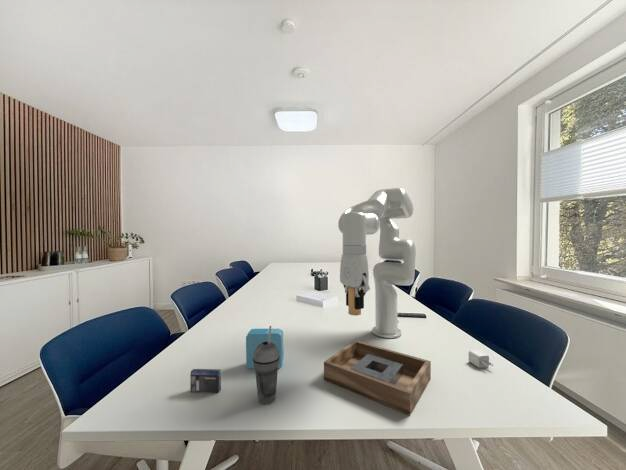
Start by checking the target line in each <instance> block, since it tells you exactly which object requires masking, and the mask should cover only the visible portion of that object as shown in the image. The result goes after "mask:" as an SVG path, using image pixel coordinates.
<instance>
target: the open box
mask: <svg viewBox="0 0 626 470" xmlns="http://www.w3.org/2000/svg"><path fill="white" fill-rule="evenodd" d="M367 354H371V355H374V356H377V357H380V358H384V359H387V360H390V361H394V362H397V363H400V364H403V375H402V377H401V378H400V379H399V380H398V382H397V383H396V384H395V385H393V384H390V383H387V382H385V381H382V380H379V379H376V378H373V377H371V376H368V375H365V374H362V373H360V372H357V371H354V370H351V369H350V368H352V367H353V366H354V365H355V364H356V363H358V362H359V361H360V360H361V359H362V358H363V357H365V356H366V355H367ZM374 371H375V370H374ZM431 371H432V364H431V361H430V360H428V359H424V358H421V357H416V356H415V355H409V354H405V353H402V352H398V351H395V350H391V349H388V348H385V347H380V346H378V345H374V344H370V343H367V342H363V341H359V340H356V339H355V340H353V341H352V342H350V343H349V344H348V345H346V346H345V347H343V348H342V349H340V350H338V351H337V352H336V353H335V354H333V355H332V356H330V357H329V358H327V359H326V360H325V361H323V380H324V381H326V382H329V383H331V384H334V385H335V386H338V387H339V388H343V389H345V390H347V391H350V392H352V393H355V394H357V395H360V396H362V397H363V398H366V399H369V400H372V401H375V402H376V403H379V404H382V405H383V406H387V407H389V408H391V409H393V410H396V411H398V412H401V413H403V414H406V415H407V414H409V415H408V416H411V415H412V413H413V411H414V410H415V408H416V406H417V404H418V402H419V401H420V399H421V397H422V395H423V393H424V392H425V390H426V388H427V386H428V385H429V383H430V381H431V378H432V377H431ZM377 372H378V371H377ZM380 373H381V372H380ZM410 414H411V415H410Z"/></svg>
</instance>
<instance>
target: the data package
mask: <svg viewBox="0 0 626 470" xmlns="http://www.w3.org/2000/svg"><path fill="white" fill-rule="evenodd" d="M268 336H269V328H252V329H250V330H249V331H248V333H247V334H246V336H245V354H246V355H245V361H246V362H245V364H246V367H247V368H248V369H249V370H255V367H254V361H253V356H254V351H255V349H256V348H257V346H258V345H259V344H261V343H262V342H266V341H268ZM270 342H272V343H274V344H275V345H276V346H277V348H278V351H279V355H280V358H279V364H278V370H279V369H280V368H282V366H283V362H284V357H285V355H284V349H285V348H284V331H283V329H281V328H271V335H270Z"/></svg>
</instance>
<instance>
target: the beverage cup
mask: <svg viewBox="0 0 626 470" xmlns="http://www.w3.org/2000/svg"><path fill="white" fill-rule="evenodd" d="M268 329H269V336H268V341H266V342H262V343H261V344H259V345H258V346H257V348H256V349H255V351H254V356H253V361H254V367H255V369H254V370H255V372H254V373H255V381H256V382H255V383H256V390H257V393H256V394H257V397H258V403H259V404H260V405H263V406H268V405H271V404H273V403H274V402H275V401H276V395H277V385H278V372H279V369H278V364H279V358H280V355H279V351H278V348H277V346H276V345H275V344H274V343H272V342H270V335H271V329H272V325H270V326H269V328H268Z"/></svg>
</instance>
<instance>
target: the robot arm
mask: <svg viewBox="0 0 626 470" xmlns="http://www.w3.org/2000/svg"><path fill="white" fill-rule="evenodd" d="M413 214H414V204H413V202H412V199H411V198H410V196H409V194H408V192H407V191H406V190H405V189H404V188H401V187H393V188H383V189H379V190H377V191H375V192H374V193H373V194H372V195H371V196H370V197H369V198H368V199H367V200H365V201H363V202H360V203H357V204H355V205H352V206H350V207H348V208H347V209H346V210H344V212H342V214H341V215H340V216H339V219H338V223H337V224H338V225H337V226H338V229H339V231H340V233H341V234H342V253H341V257H340V258H341V260H340V268H339V269H340V270H339V283H340V284H342V285H343V288H344V293H345V306H348V286H350V287H354V288H355V292H356V297H355V309H356V310H358V309H361V310H362V309H364V308H365V296H366V293H367V292H368V291H370V290H371V288H370V285H369V283H370V281H369V280H370V277H369V275H370V274H369V273H370V272H369V262H368V258H367V235H368V236H369V235H370V236H371V235H374V234H376V233H377V232H378V231H379V230H380V231H379V241H378V242H379V243H378V256H379V258H381V259H382V260H387V261H382V262H381V261H380V262H378V263H376V264H375V265H373V269H372V275H373V280H374V290H375V291H374V292H375V293H374V295H375V299H374V300H375V301H374V303H375V305H374V306H375V309H374V310H375V326H373V327H372V329H371V332H372V334H373V335H375V336H376V337H379V338H380V337H381V338H383V339H384V338H385V339H394V338H398V337H401V336H402V331H401V329H399V328H398V326H399V325H398V324H399V320H398V292H397V290H396V289H395V287H394V286H393V285H395V286H411V285H412V284H414V281H415V277H416V276H415V274H416V273H415V270H416V244H415V243H414V241H413V240H411V239H406V238H405V239H404V238H402V239H401V238H400V229H399V227H398V225H397V224H396V223H395V221H393V220H394V219H395V220H396V219H398V220H399V219H409V218H411V217H412V216H413ZM392 219H393V220H392ZM388 261H391V262H388ZM392 261H402V262H392ZM360 285H361V286H360ZM360 288H361V290H360V291H359V289H360Z"/></svg>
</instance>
